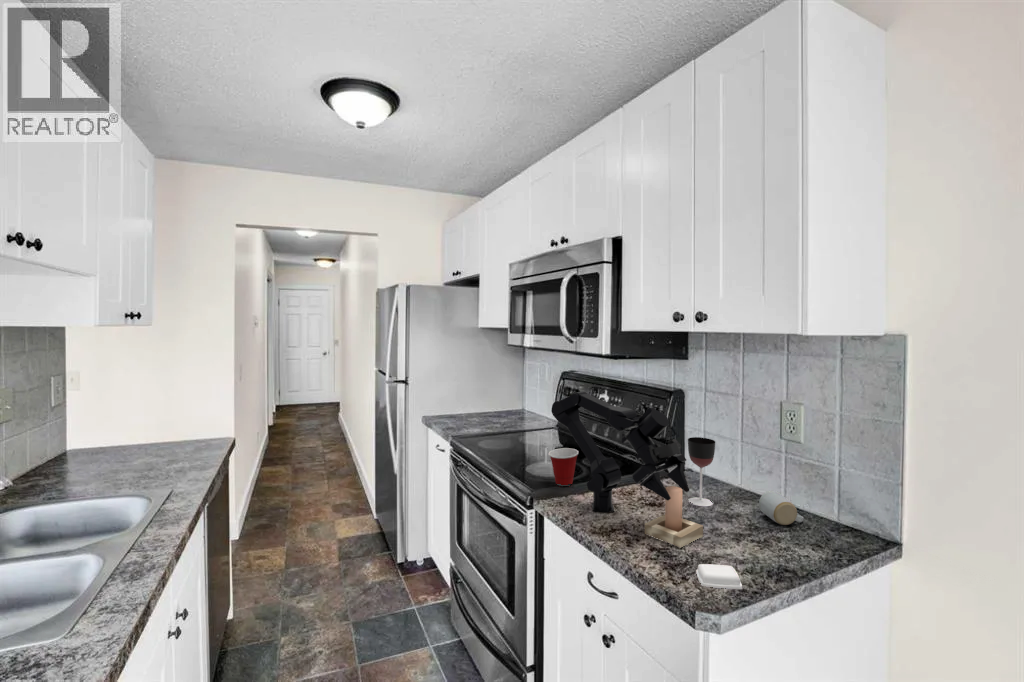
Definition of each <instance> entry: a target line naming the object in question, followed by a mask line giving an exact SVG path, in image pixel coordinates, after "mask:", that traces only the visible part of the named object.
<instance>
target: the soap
mask: <svg viewBox="0 0 1024 682" xmlns="http://www.w3.org/2000/svg"><path fill="white" fill-rule="evenodd" d="M696 574H697V576H696V578H697V579H698V582H699V584H700V583H701V584H700V586H702V587H703V586H706V587H705V588H710V587H713V588H712V589H721V588H724V589H723V590H743V584H742V582H741V579H740V576H739V574H738V573H737V571H736V570H735V568H734V567H733V565H728V564H727V565H726V564H724V565H723V564H714V563H713V564H712V563H711V564H708V563H699V564H698V566H697V569H696V570H695V575H696ZM725 588H726V589H725Z"/></svg>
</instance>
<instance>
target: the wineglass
mask: <svg viewBox="0 0 1024 682" xmlns="http://www.w3.org/2000/svg"><path fill="white" fill-rule="evenodd" d="M687 448H688V449H687V450H688V456H689V458H690V461H691V462H692V463H693V464H694V465H695V466H697V467H698V468H699V497H690V498H688V500H689V501H688V503H690V502H691V503H690V504H692V503H693V504H692V505H694V506H697V507H698V506H699V507H710V506H713V505H714V502H713V501H712V500H711V499H708V498H703V468H705V467H708V466H710V465H711V464H712V462H713V460H714V458H715V451H716V441H715V440H714V439H711V438H708V437H701V436H700V437H699V436H698V437H697V436H695V437H694V436H693V437H688V438H687ZM710 500H711V501H712V502H713V503H712V502H711V501H710Z"/></svg>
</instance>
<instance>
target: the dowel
mask: <svg viewBox="0 0 1024 682" xmlns="http://www.w3.org/2000/svg"><path fill="white" fill-rule="evenodd" d="M665 489H666V490H667V492H668V494H669V496H670V498H671V499H670V500H666V499H665V500H664V505H665V506H664V507H665V508H664V513H665V514H664V515H665V528H668V529H671V530H673V531H676V532H679V531H681V530H682V519H683V489H682V488H681V487H679V486H673V485H669V486H666V487H665Z"/></svg>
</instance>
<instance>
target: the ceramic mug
mask: <svg viewBox="0 0 1024 682" xmlns="http://www.w3.org/2000/svg"><path fill="white" fill-rule="evenodd" d="M758 506H759V510H760V511H761V512H762V513H763V514H764V515H765V516H767V517H768V518H769V519H771V520H772V521H773V522H775V523H776V524H778V525H781V526H788V525H791V524H793V523H794V522H795V521H796V522H797V523H802V522H803V520H804V516H802V515H801V514H800V513H798V510H797V508H796V505H794V503H792V502H791V500H789V499H788V498H787V497H785V496H784V495H783V494H781V493H780V492H778V491H776V490H768V491H766V492H764V493H763V494H762V495H761V496H760V498H759V501H758Z"/></svg>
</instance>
